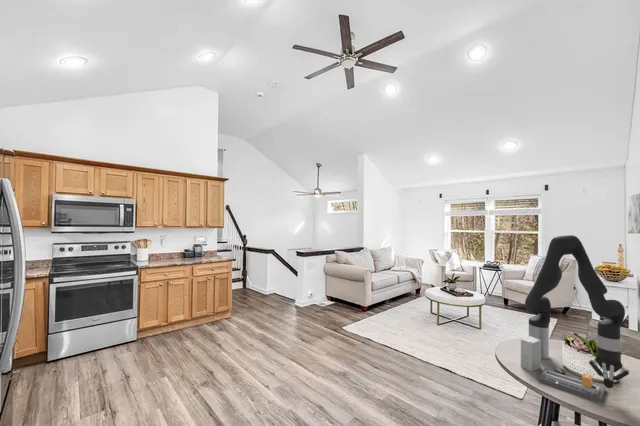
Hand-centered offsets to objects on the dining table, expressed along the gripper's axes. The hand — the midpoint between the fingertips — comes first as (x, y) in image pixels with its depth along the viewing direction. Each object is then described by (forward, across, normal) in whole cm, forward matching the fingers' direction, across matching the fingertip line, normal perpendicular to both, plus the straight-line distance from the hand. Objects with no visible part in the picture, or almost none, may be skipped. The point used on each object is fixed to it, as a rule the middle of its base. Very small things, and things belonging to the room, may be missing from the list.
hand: (608, 387), depth 130 cm
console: (+6, +13, -2) cm, 14 cm away
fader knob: (+3, +7, 0) cm, 8 cm away
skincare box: (+6, +30, -8) cm, 31 cm away
